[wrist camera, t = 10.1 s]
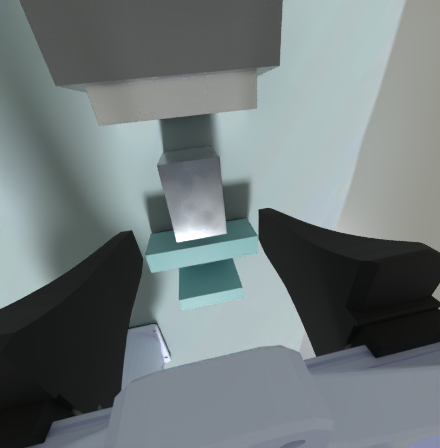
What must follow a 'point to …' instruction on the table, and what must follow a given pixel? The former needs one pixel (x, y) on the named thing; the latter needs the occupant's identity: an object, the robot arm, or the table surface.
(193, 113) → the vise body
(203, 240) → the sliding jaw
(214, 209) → the steel block
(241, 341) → the table surface
